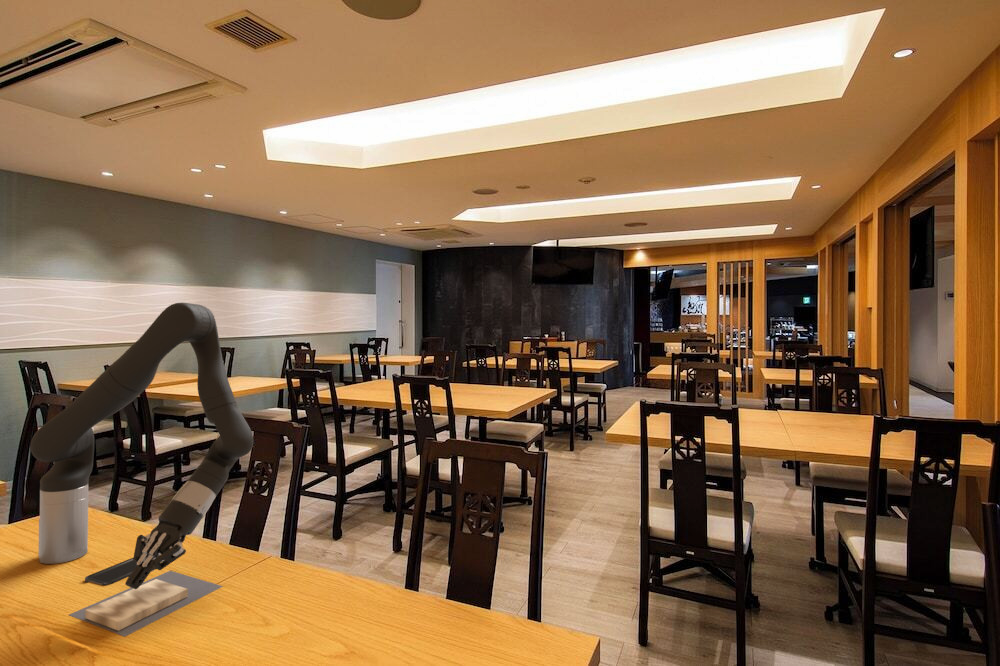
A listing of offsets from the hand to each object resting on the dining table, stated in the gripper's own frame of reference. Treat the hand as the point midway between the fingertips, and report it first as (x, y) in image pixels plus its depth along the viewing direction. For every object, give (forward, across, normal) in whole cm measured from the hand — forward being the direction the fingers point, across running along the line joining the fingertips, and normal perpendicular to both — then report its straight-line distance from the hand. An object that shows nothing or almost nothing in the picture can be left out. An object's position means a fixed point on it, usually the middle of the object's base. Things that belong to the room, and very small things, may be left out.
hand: (130, 587), depth 107 cm
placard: (-3, 0, +9) cm, 9 cm away
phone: (-4, -19, +12) cm, 23 cm away
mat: (0, -1, +7) cm, 7 cm away
